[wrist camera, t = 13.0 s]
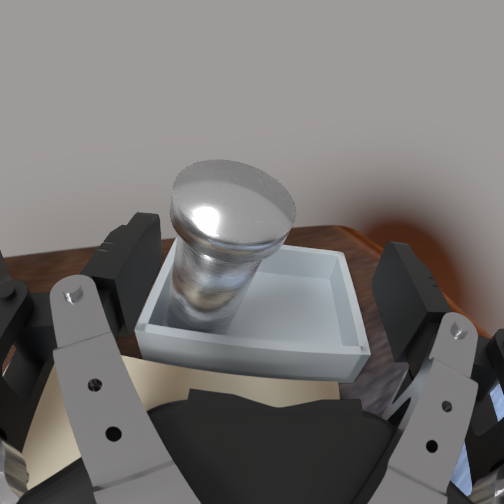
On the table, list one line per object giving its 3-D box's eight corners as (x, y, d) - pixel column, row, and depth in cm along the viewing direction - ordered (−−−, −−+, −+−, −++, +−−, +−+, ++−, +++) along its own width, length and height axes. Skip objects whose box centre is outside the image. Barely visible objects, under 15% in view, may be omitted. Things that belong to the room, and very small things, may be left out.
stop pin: (149, 342, 17) (154, 217, 10) (170, 278, 21) (192, 149, 13) (230, 363, 18) (296, 257, 11) (241, 298, 21) (295, 179, 14)
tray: (143, 361, 17) (134, 329, 15) (179, 263, 25) (178, 233, 24) (353, 382, 17) (370, 354, 16) (334, 281, 25) (343, 252, 24)
